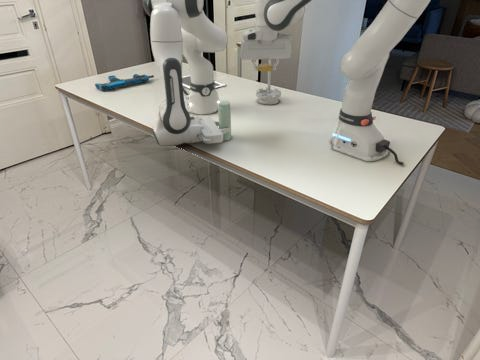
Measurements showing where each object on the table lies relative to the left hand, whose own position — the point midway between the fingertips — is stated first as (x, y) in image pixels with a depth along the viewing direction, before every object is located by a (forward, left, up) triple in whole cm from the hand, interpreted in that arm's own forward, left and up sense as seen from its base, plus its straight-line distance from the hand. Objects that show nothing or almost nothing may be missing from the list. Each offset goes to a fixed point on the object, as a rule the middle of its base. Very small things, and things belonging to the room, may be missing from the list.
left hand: (227, 126), depth 142 cm
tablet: (-78, +6, -5) cm, 79 cm away
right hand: (-2, +17, +21) cm, 27 cm away
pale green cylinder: (0, -1, -5) cm, 5 cm away
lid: (-2, +17, +23) cm, 29 cm away
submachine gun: (-94, -36, -5) cm, 101 cm away
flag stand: (-34, +34, -5) cm, 49 cm away
